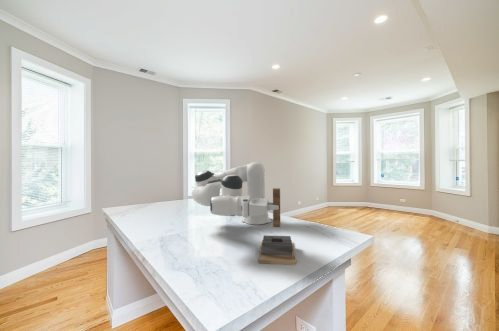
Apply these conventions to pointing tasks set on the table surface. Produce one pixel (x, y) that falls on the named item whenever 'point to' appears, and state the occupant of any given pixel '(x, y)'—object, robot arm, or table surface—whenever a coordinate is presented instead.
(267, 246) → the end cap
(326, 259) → the table surface
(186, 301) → the table surface
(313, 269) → the table surface
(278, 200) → the walnut slat
